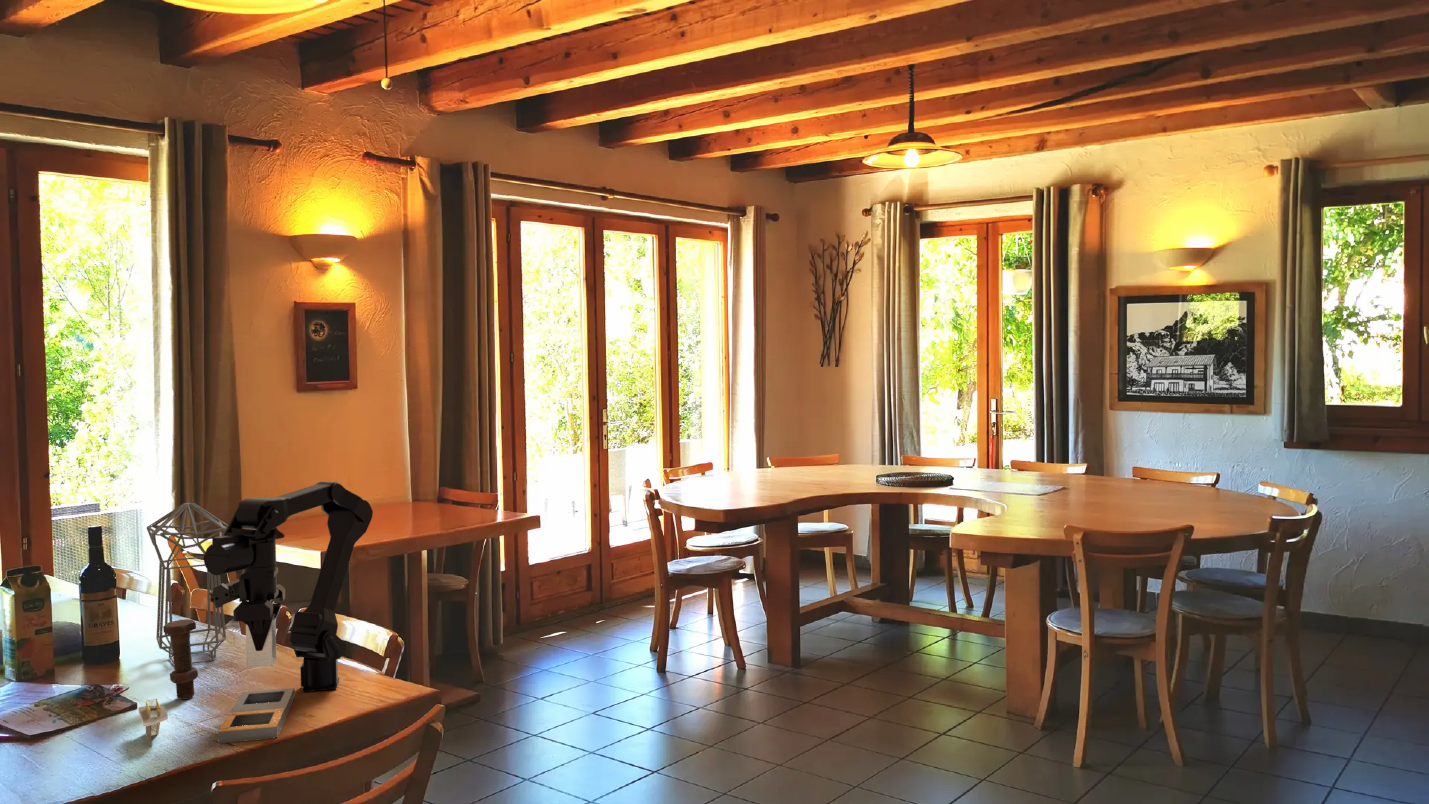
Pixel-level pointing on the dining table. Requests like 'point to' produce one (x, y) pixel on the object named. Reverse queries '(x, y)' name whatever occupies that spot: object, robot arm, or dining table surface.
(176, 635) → the bolt
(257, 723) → the rail plate
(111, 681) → the dining table surface
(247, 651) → the nut block
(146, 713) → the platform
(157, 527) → the geometric lantern
